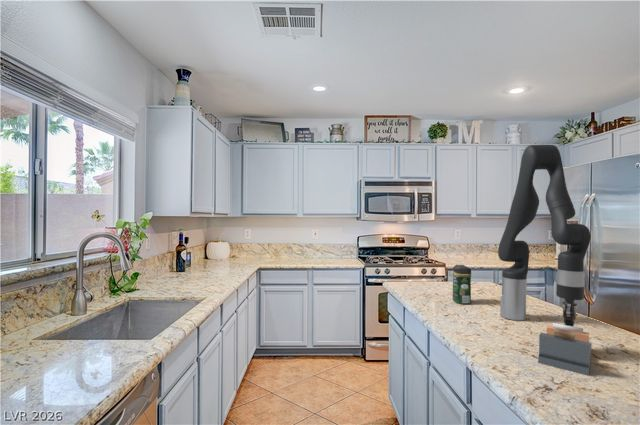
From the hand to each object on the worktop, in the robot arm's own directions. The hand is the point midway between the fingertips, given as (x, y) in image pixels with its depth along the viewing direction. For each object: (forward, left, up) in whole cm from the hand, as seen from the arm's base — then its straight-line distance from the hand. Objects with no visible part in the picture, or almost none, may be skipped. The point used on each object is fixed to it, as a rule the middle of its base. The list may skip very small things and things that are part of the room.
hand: (569, 335), depth 115 cm
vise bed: (0, -7, -5) cm, 9 cm away
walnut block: (0, -12, -3) cm, 13 cm away
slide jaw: (0, -4, -2) cm, 4 cm away
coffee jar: (-46, +36, -5) cm, 59 cm away
